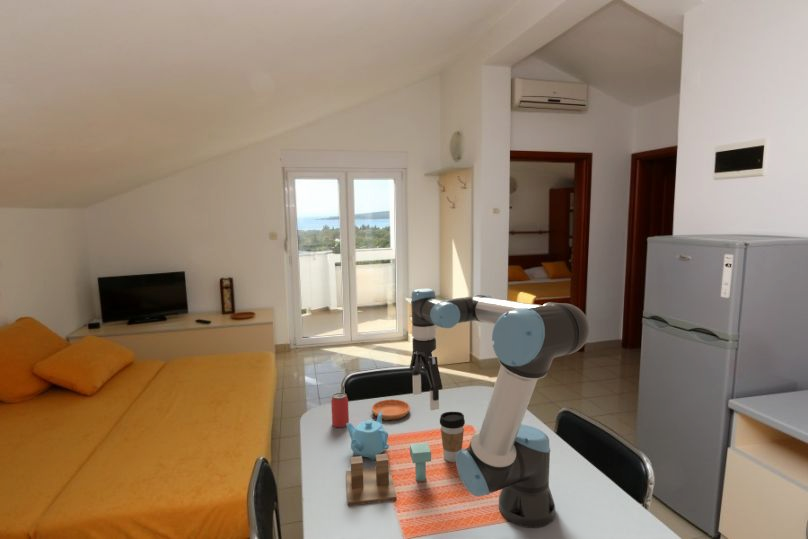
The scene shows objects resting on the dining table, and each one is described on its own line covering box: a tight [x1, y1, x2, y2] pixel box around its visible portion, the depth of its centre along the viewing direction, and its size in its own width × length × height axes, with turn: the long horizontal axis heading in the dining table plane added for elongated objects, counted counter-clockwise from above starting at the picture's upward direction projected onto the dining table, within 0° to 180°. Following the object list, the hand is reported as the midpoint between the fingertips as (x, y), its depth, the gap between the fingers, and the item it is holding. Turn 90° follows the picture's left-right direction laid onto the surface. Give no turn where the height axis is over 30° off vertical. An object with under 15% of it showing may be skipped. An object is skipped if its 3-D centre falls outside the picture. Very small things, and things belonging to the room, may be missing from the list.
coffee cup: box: [439, 411, 466, 463], centre depth 151 cm, size 8×8×15 cm
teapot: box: [345, 412, 390, 461], centre depth 156 cm, size 15×14×11 cm
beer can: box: [330, 392, 350, 428], centre depth 177 cm, size 7×7×12 cm
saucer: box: [371, 399, 411, 421], centre depth 187 cm, size 16×16×3 cm
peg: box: [409, 442, 432, 483], centre depth 140 cm, size 6×6×10 cm
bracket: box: [345, 453, 398, 506], centre depth 136 cm, size 16×14×9 cm
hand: (425, 401), depth 145 cm, fingers open, 13 cm apart
